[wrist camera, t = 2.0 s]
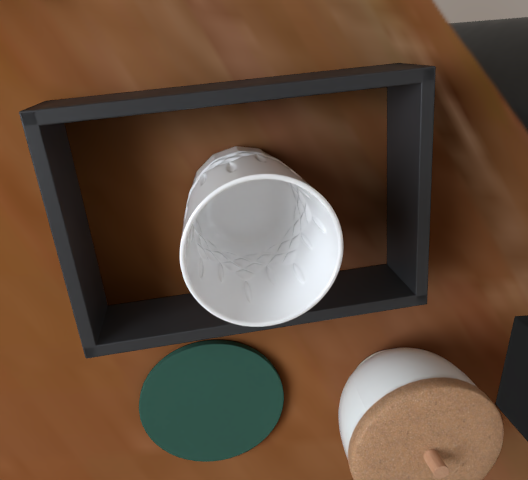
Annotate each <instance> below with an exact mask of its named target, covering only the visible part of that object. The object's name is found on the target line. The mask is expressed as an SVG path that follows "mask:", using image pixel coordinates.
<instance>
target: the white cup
mask: <svg viewBox="0 0 528 480" xmlns="http://www.w3.org/2000/svg"><path fill="white" fill-rule="evenodd" d="M342 257H343V234H342V229H341V226H340V222H339V220H338V217H337V215H336V213H335V212H334V210H333V208H332V207H331V205H330V204H329V203H328V201H327V200H326V199H325V198H324V197H323V196H322V195H321V194H320V193H319V192H318V191H316V190H315V189H314V188H313V187H312V186H311V185H309V184H308V183H307V182H306V181H305V180H304V179H303V178H302V177H300V176H299V175H298V174H297V173H296V172H295V171H293V170H292V169H290V168H289V167H288V166H287V165H285V164H284V163H283V162H281V161H280V160H278V159H276V158H274V157H272V156H271V155H269V154H267V153H266V152H264V151H263V150H261V149H259V148H250V147H240V146H234V147H232V148H229V149H226V150H223V151H221V152H218V153H215V154H213V155H212V156H211V157H210V158H209V159H208V160H207V161H206V162H205V163H204V164H203V165H202V166H201V167H200V168H199V169H198V170H197V172H196V175H195V178H194V181H193V184H192V187H191V190H190V192H189V195H188V200H187V205H186V209H185V214H184V222H183V230H182V237H181V244H180V266H181V271H182V275H183V278H184V280H185V283H186V285H187V287H188V289H189V291H190V292H191V294H192V295H193V297H194V298H195V299H196V300H197V301H198V303H199V304H200V305H201V306H202V307H204V308H205V309H206V310H207V311H209V312H210V313H211V314H213V315H215V316H216V317H218V318H220V319H222V320H224V321H227V322H230V323H233V324H237V325H242V326H249V327H264V326H272V325H277V324H281V323H284V322H287V321H290V320H292V319H294V318H296V317H298V316H300V315H302V314H304V313H305V312H307V311H308V310H310V309H311V308H312V307H313V306H315V305H316V304H317V303H318V302H319V301H320V300H321V299H322V298H323V297H324V296H325V294H326V293H327V292H328V291H329V289H330V288H331V286H332V285H333V283H334V281H335V279H336V277H337V275H338V272H339V269H340V266H341V262H342Z"/></svg>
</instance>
